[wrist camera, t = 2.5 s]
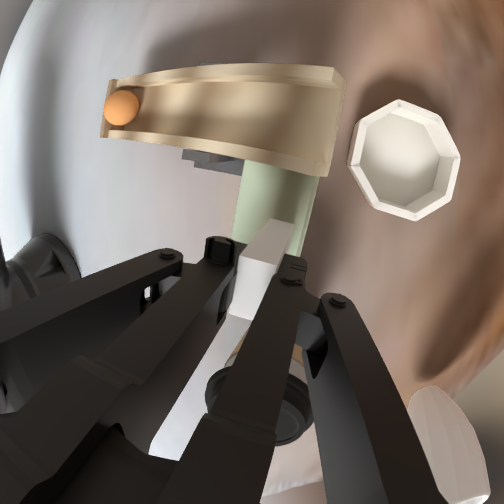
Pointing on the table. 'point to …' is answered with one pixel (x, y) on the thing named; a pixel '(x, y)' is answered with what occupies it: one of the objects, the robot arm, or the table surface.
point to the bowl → (404, 160)
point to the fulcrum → (214, 155)
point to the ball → (121, 107)
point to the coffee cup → (293, 404)
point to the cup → (449, 446)
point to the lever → (246, 130)
